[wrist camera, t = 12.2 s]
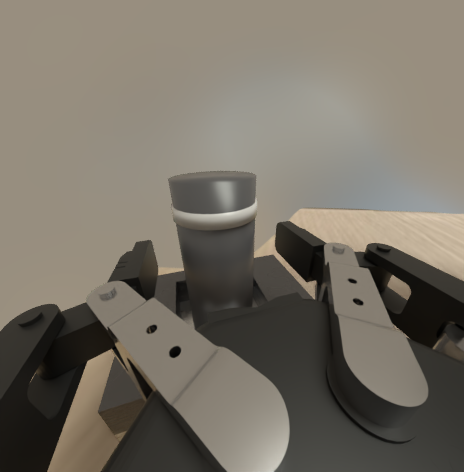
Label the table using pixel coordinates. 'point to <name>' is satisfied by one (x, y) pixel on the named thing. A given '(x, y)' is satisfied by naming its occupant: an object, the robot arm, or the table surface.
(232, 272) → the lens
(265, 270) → the dark rectangular frame
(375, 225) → the table surface
